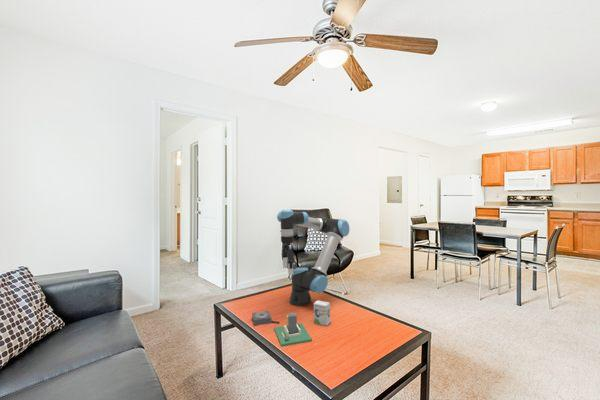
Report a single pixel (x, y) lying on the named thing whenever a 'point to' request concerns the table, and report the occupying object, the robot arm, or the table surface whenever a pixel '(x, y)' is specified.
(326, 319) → the ink box
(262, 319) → the speaker
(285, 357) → the table surface
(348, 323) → the table surface
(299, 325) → the board
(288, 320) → the plug
